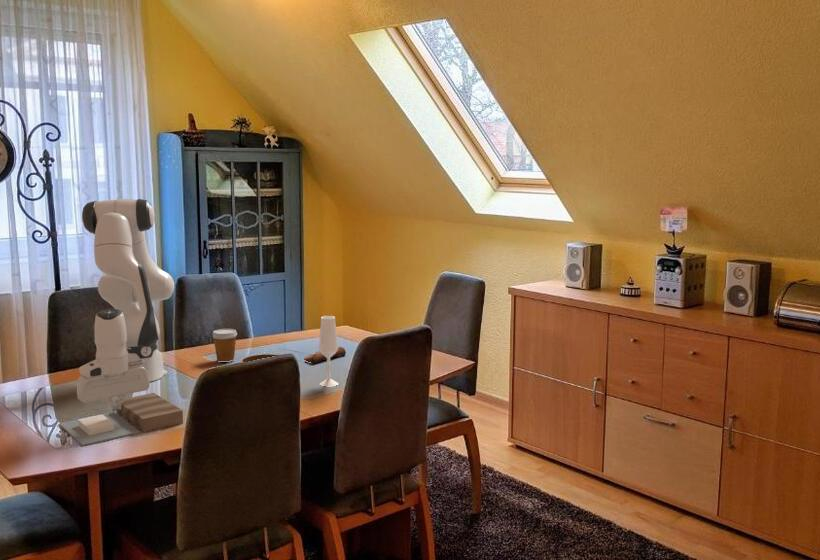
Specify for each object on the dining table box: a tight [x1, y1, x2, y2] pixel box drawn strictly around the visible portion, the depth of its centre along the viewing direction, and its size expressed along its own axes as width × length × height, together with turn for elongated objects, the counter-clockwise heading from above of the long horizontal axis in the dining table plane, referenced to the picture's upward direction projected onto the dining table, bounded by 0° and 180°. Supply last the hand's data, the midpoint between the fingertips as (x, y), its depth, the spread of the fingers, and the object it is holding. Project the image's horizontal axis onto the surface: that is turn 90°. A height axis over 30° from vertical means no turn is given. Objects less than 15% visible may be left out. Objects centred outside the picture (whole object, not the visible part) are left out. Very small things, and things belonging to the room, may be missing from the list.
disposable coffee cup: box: [211, 328, 238, 361], centre depth 294 cm, size 10×10×12 cm
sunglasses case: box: [303, 346, 347, 365], centre depth 299 cm, size 18×7×7 cm
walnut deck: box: [115, 392, 184, 433], centre depth 230 cm, size 22×12×4 cm, turn 40°
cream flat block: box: [78, 414, 114, 435], centre depth 220 cm, size 10×7×2 cm
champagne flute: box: [318, 315, 339, 388], centre depth 264 cm, size 7×7×24 cm
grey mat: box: [58, 411, 141, 447], centre depth 221 cm, size 22×16×1 cm
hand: (115, 410), depth 224 cm, fingers closed
